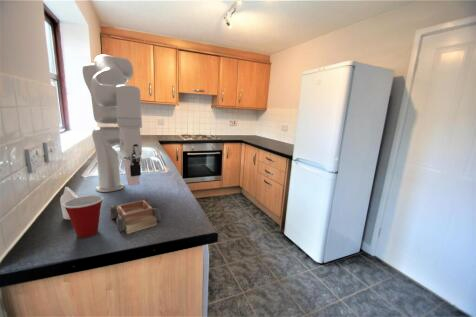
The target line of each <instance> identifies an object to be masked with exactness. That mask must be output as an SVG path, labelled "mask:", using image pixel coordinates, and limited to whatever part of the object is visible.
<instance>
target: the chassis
mask: <svg viewBox="0 0 476 317" xmlns="http://www.w3.org/2000/svg"><path fill="white" fill-rule="evenodd" d="M109 215H110V219H111V220H113V219H116V226H117V230H118V232H119V233H121V232H124V231H125V233H126V235H129V234H132V233H135V232H139V231H141V230H144V229H147V228H148V229H149V228H151V227H155V226H157V225H158V223H157V222H158V221H160V220H161V212H160V209H159V208H158V207H155V208H153V207H152V206H151V205H150V200H149V199H148V198H143V199H141V200H137V201H132V202H129V203H122V204H118V205H116V204H115V205H111V206H109Z"/></svg>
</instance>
